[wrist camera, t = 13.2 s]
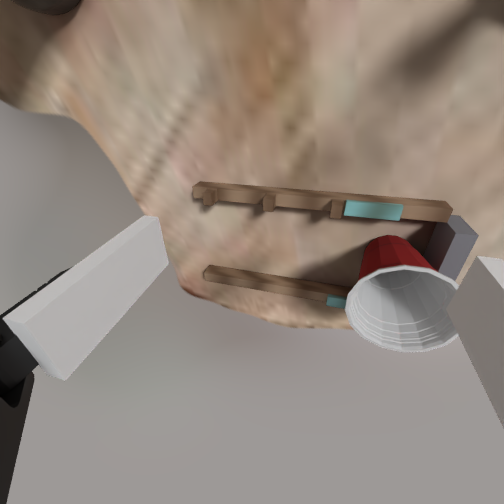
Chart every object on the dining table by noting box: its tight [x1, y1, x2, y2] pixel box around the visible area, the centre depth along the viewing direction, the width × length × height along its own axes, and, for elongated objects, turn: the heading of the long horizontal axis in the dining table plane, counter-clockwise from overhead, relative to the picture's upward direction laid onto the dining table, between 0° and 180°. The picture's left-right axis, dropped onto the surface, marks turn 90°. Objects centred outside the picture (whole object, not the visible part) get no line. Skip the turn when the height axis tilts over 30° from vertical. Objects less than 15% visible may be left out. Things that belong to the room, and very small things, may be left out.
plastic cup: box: [345, 235, 459, 352], centre depth 30 cm, size 11×11×12 cm
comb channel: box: [192, 182, 453, 309], centre depth 36 cm, size 31×16×4 cm, turn 91°
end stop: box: [423, 215, 478, 281], centre depth 32 cm, size 2×13×5 cm, turn 1°
